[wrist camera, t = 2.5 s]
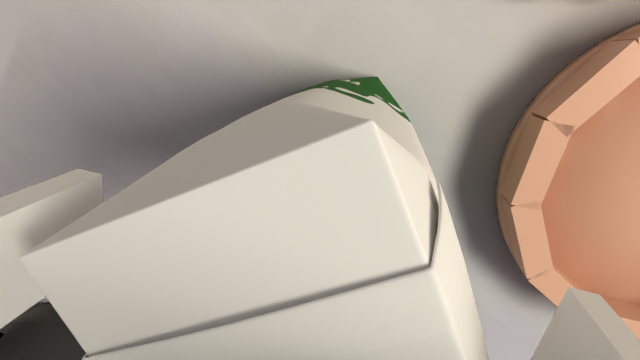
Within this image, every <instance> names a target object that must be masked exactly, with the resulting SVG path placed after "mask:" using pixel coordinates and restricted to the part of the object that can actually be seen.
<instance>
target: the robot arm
mask: <svg viewBox="0 0 640 360" xmlns="http://www.w3.org/2000/svg"><path fill="white" fill-rule="evenodd" d="M102 203H103V187H102V174H100V173H95V172H91V171H87V170H83V169H79V168H78V169H75V170H73V171H70V172H67V173H65V174H62V175H59V176H57V177H54V178H51V179H49V180H46V181H43V182H41V183H38V184H35V185H33V186H30V187H27V188H25V189H22V190H19V191H17V192H14V193H11V194H9V195H6V196H3V197H1V198H0V360H82V358H83V356H84V355H85V354H86V352H85V351H84V350H83V348H82V347H81V345H80V344H79V342H78V341H77V340H76V338H75V337H74V335H73V334H72V333H71V331H70V330H69V328H68V327H67V326H66V324H65V323H64V321H63V320H62V319H61V317H60V316H59V314H58V313H57V311H56V310H55V309H54V307H53V306H52V304H40V305H36V306H33V305H34V304H36V303H37V302H39V301H40V300H41V299H43V298H44V297H46V296H45V295H44V293H43V292H42V290H41V289H40V288H39V286H38V285H37V283H36V282H35V281H34V279H33V278H32V276H31V275H30V273H29V272H28V270H27V269H26V268H25V266H24V265H23V263H22V262H21V260H20V259H19V257H20V256H21V255H23V254H24V253H26V252H27V251H29V250H31V249H32V248H34V247H35V246H37V245H38V244H40V243H42V242H43V241H45V240H46V239H48V238H49V237H51V236H53V235H54V234H56V233H57V232H59V231H60V230H62V229H64V228H65V227H67V226H68V225H70V224H71V223H73V222H75V221H76V220H78V219H79V218H81V217H82V216H84V215H85V214H87V213H88V212H90V211H91V210H93V209H94V208H96V207H97V206H99V205H100V204H102ZM531 360H640V340H639V339H638V338H637V336H636V335H635V334H634V333H633V332H632V331H631V330H630V328H629V327H628V326H627V325H626V324H625V323H624V322H623V320H622V319H621V318H620V317H619V316H618V315H617V314H616V312H615V311H614V310H613V309H612V308H611V307H610V306H609V304H608V303H607V302H606V301H605V300H604V299H603V298H602V296H601V295H600V294H596V293H591V292H587V291H583V290H579V289H575V288H571V287H568V288H567V290H566V292H565V294H564V296H563V298H562V300H561V302H560V304H559V306H558V308H557V310H556V312H555V314H554V316H553V318H552V320H551V322H550V324H549V326H548V327H547V329H546V331H545V333H544V335H543V337H542V339H541V341H540V343H539V345H538V347H537V349H536V351H535V353H534V355H533V357H532V359H531Z"/></svg>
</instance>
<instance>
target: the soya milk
mask: <svg viewBox="0 0 640 360" xmlns="http://www.w3.org/2000/svg"><path fill="white" fill-rule="evenodd" d="M19 259H20V260H21V262H22V263H23V265H24V266H25V268H26V269H27V270H28V272H29V273H30V275H31V276H32V278H33V279H34V281H35V282H36V283H37V285H38V286H39V288H40V289H41V290H42V292H43V293H44V295H45V296H46V297H47V299H48V300H49V302H50V303H51V304H52V306H53V307H54V309H55V310H56V311H57V313H58V314H59V316H60V317H61V319H62V320H63V321H64V323H65V324H66V326H67V327H68V328H69V330H70V331H71V333H72V334H73V335H74V337H75V338H76V340H77V341H78V342H79V344H80V345H81V347H82V348H83V350H84V351H85V352H86V354H85V355H84V356H83V358H82V360H489V359H488V354H487V349H486V344H485V339H484V334H483V330H482V326H481V323H480V319H479V315H478V311H477V307H476V303H475V299H474V296H473V292H472V288H471V284H470V280H469V277H468V273H467V269H466V265H465V262H464V258H463V254H462V251H461V248H460V244H459V241H458V238H457V235H456V231H455V228H454V225H453V221H452V218H451V214H450V211H449V208H448V206H447V203H446V200H445V197H444V194H443V191H442V188H441V185H440V183H439V182H436V180H435V177H434V175H433V172H432V170H431V167H430V165H429V163H428V160H427V158H426V156H425V153H424V151H423V148H422V146H421V144H420V141H419V139H418V137H417V135H416V132H415V130H414V128H413V126H412V124H411V122H410V120H409V119H408V117H407V116H406V114H405V113H404V112H403V110H402V109H401V107H400V106H399V105H398V103H397V102H396V101H395V99H394V98H393V97H392V95H391V94H390V93H389V92H388V90H387V89H386V88H385V86H384V85H383V84H382V82H381V81H380V80H379V78H378V77H371V78H358V79H344V80H333V81H329V82H325V83H322V84H319V85H316V86H313V87H310V88H307V89H304V90H302V91H299V92H297V93H294V94H292V95H290V96H288V97H285V98H283V99H281V100H279V101H276V102H274V103H272V104H270V105H267V106H265V107H263V108H261V109H259V110H256V111H254V112H252V113H250V114H248V115H246V116H244V117H241V118H239V119H238V120H236V121H234V122H232V123H231V124H229V125H227V126H225V127H224V128H222V129H220V130H218V131H216V132H214V133H212V134H210V135H208V136H206V137H204V138H202V139H201V140H199V141H197V142H196V143H194V144H192V145H191V146H189V147H187V148H186V149H184V150H182V151H181V152H179V153H178V154H176V155H175V156H173V157H172V158H170V159H169V160H167V161H166V162H164V163H162V164H161V165H159V166H158V167H156V168H155V169H153V170H152V171H150V172H149V173H147V174H146V175H144V176H143V177H141V178H140V179H138V180H137V181H135V182H134V183H132V184H131V185H129V186H128V187H126V188H125V189H123V190H122V191H120V192H119V193H117V194H115V195H114V196H112V197H111V198H109V199H108V200H106V201H105V202H103V203H102V204H100V205H99V206H97V207H96V208H94V209H93V210H91V211H90V212H88V213H87V214H85V215H84V216H82V217H81V218H79V219H78V220H76V221H75V222H73V223H71V224H70V225H68V226H67V227H65V228H64V229H62V230H60V231H59V232H57V233H56V234H54V235H53V236H51V237H49V238H48V239H46V240H45V241H43V242H42V243H40V244H38V245H37V246H35V247H34V248H32V249H31V250H29V251H27V252H26V253H24V254H23V255H21V256H20V257H19Z"/></svg>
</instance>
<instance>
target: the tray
mask: <svg viewBox="0 0 640 360" xmlns="http://www.w3.org/2000/svg"><path fill="white" fill-rule="evenodd" d="M496 208H497V214H498V221H499V225H500V228H501V231H502V234H503V237H504V240H505V242H506V243H507V245H508V247H509V249H510V251H511V253H512V255H513V256H514V258H515V261H516V263H517V264H518V266H519V267H520V269H521V270H522V272H523V274H524V275H525V277H526V278H527V280H528V281H529V282H530V283H531V284H532V285H533V286H535V287H536V288H537V289H538V290H539V291H540V292H541V293H542V294H544V295H545V296H546V297H547V298H548V299H549V300H550V301H552V302H553V303H554V304H555V305H556V306H557V307H558V306H559V304H560V302H561V300H562V298H563V296H564V294H565V292H566V290H567V288H568V287H571V288H575V289H579V290H583V291H587V292H591V293H596V294H600V295H601V296H602V298H603V299H604V300H605V301H606V302H607V303H608V304H609V306H610V307H611V308H612V309H613V310H614V311H615V312H616V314H617V315H618V316H619V317H620V318H621V319H622V320H623V322H624V323H625V324H626V325H627V326H628V327H629V328H630V330H631V331H632V332H633V333H634V334H635V335H636V336H637V338H638V339H639V340H640V24H638V25H635V26H632V27H630V28H627V29H625V30H623V31H621V32H619V33H617V34H615V35H613V36H612V37H610V38H608V39H606V40H604V41H602V42H600V43H599V44H597V45H596V46H594V47H592V48H591V49H589V50H588V51H586V52H585V53H583V54H582V55H580V56H579V57H577V58H576V59H575V60H574V61H572V62H571V63H570V64H569V65H568V66H566V67H565V68H564V69H563V70H562V71H560V72H559V73H558V74H557V75H556V76H555V77H554V78H553V79H552V80H551V81H550V82H549V83H548V84H547V85H546V86H545V87H544V88H543V89H542V90H541V91H540V92H539V93H538V95H537V96H536V97H535V98H534V100H533V101H532V102H531V104H530V105H529V106H528V107H527V109H526V110H525V111H524V113H523V115H522V116H521V118H520V120H519V121H518V123H517V125H516V126H515V128H514V130H513V132H512V134H511V136H510V138H509V140H508V143H507V145H506V147H505V149H504V153H503V156H502V160H501V163H500V166H499V171H498V178H497V184H496Z"/></svg>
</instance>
